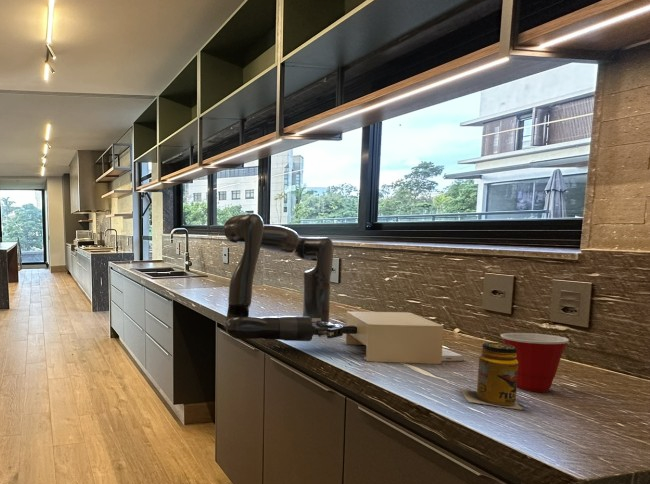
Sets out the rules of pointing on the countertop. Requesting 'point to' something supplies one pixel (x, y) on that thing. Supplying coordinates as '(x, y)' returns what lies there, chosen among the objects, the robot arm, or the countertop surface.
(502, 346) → the condiment
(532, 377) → the plastic cup
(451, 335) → the countertop surface
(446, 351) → the hard drive
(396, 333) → the cover
